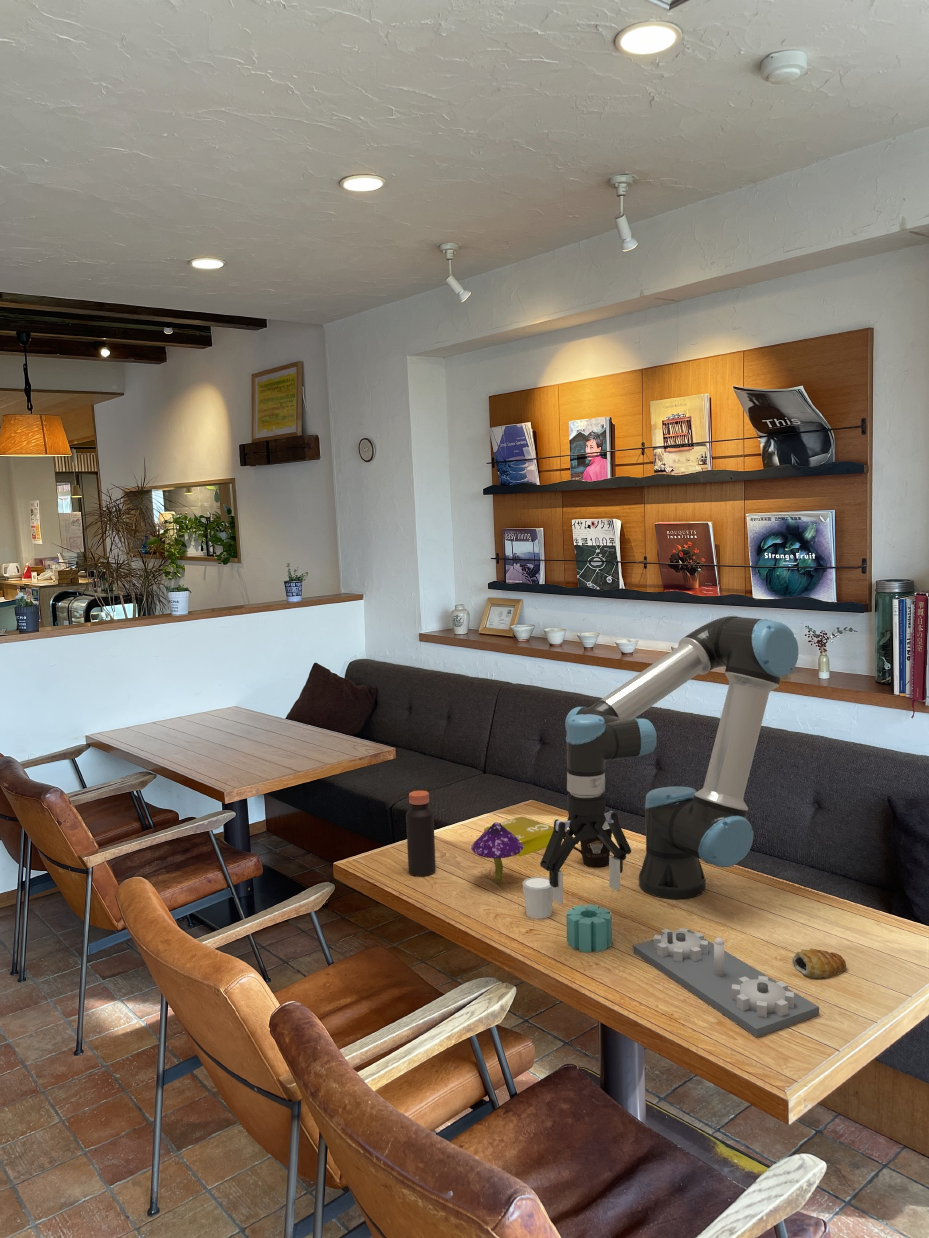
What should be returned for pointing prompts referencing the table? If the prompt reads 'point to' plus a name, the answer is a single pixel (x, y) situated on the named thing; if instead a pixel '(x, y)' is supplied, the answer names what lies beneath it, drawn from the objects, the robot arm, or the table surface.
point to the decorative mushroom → (497, 846)
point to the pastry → (818, 963)
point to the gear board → (725, 981)
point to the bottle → (420, 835)
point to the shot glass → (538, 897)
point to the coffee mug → (595, 850)
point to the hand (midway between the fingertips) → (586, 895)
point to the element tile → (529, 833)
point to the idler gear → (589, 928)
